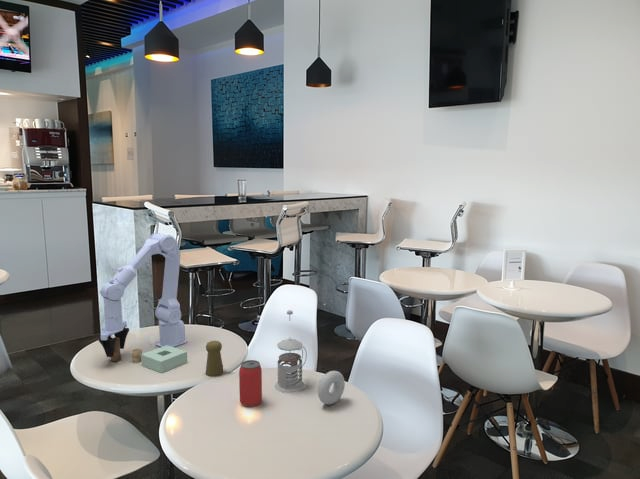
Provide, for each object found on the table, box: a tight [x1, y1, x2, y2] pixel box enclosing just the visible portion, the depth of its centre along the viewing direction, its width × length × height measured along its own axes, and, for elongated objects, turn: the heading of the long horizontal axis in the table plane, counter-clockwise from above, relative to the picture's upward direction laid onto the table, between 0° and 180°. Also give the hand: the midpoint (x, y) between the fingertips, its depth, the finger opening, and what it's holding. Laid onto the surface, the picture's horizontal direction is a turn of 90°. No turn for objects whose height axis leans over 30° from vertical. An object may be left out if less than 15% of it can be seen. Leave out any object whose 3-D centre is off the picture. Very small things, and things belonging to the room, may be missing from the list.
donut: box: [317, 370, 346, 406], centre depth 137 cm, size 10×4×10 cm, turn 134°
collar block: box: [140, 345, 188, 374], centre depth 165 cm, size 11×11×4 cm
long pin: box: [110, 336, 122, 363], centre depth 168 cm, size 3×3×8 cm
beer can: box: [238, 359, 263, 408], centre depth 138 cm, size 7×7×12 cm
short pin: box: [131, 348, 143, 364], centre depth 168 cm, size 3×3×4 cm
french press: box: [274, 309, 308, 394], centre depth 148 cm, size 10×12×25 cm
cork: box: [205, 340, 224, 378], centre depth 158 cm, size 6×6×11 cm
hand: (115, 352), depth 168 cm, fingers open, 7 cm apart
